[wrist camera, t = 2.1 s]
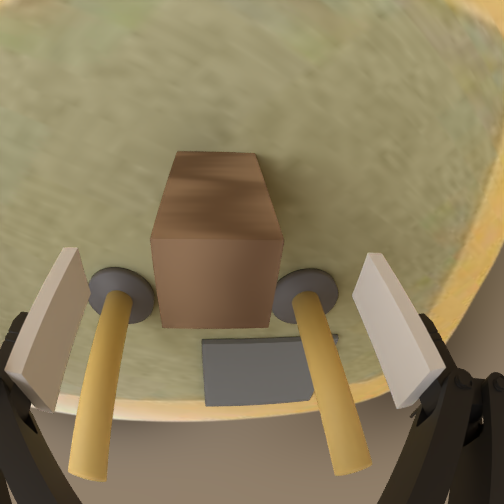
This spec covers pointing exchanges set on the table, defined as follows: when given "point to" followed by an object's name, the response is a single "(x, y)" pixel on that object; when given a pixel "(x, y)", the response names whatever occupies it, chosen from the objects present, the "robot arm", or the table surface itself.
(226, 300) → the block
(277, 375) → the mat
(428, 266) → the table surface
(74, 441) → the gate
